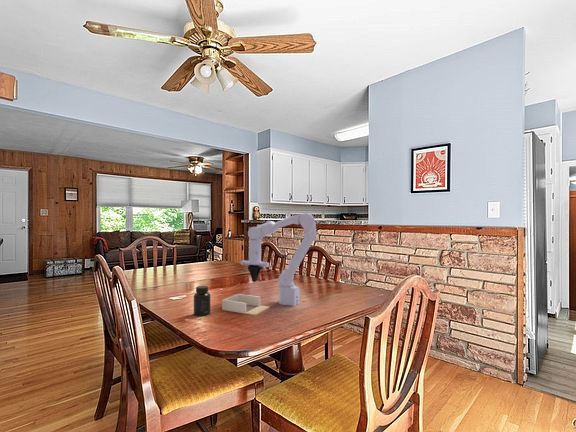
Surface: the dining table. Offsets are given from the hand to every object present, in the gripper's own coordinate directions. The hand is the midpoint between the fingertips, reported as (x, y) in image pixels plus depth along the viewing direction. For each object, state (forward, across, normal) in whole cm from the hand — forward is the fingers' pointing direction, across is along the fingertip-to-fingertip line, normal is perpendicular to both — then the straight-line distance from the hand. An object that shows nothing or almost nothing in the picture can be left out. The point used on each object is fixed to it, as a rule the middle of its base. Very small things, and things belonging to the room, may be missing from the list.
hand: (254, 281), depth 147 cm
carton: (+10, 0, +11) cm, 15 cm away
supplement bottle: (+11, +10, +25) cm, 29 cm away
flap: (+10, -7, +11) cm, 16 cm away
